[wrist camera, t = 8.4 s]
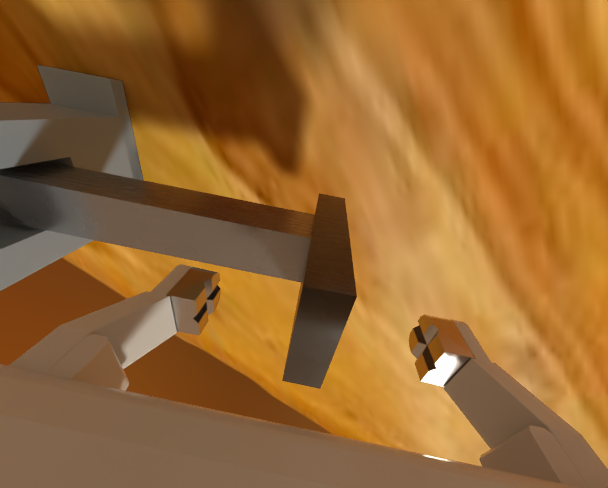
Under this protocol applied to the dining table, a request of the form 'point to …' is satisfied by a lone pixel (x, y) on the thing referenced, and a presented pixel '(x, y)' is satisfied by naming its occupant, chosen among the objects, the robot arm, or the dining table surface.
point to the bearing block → (62, 154)
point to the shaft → (204, 240)
